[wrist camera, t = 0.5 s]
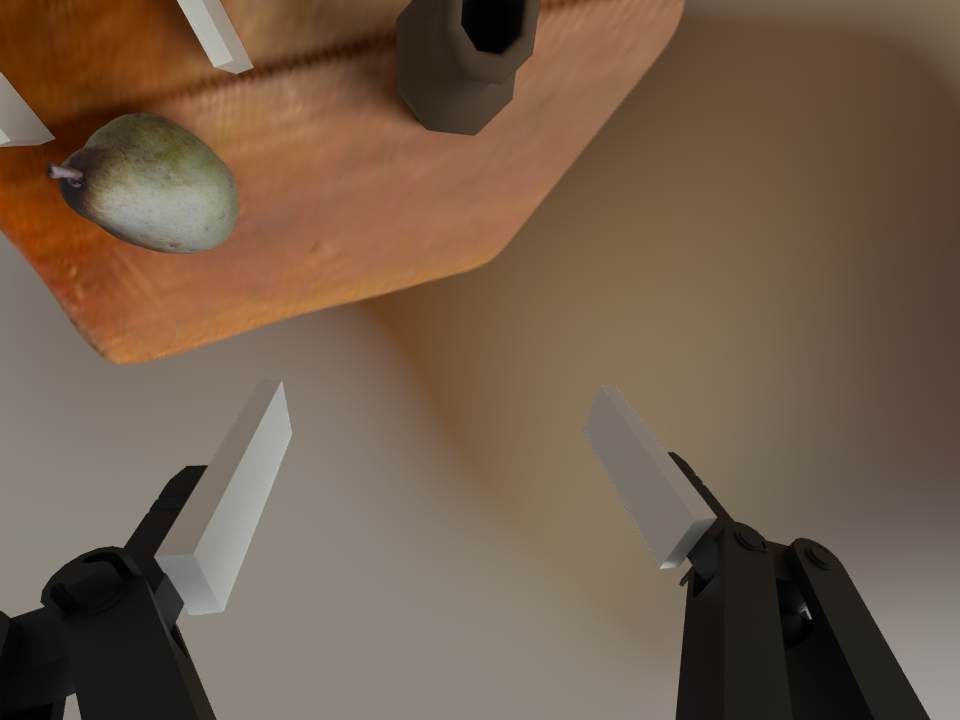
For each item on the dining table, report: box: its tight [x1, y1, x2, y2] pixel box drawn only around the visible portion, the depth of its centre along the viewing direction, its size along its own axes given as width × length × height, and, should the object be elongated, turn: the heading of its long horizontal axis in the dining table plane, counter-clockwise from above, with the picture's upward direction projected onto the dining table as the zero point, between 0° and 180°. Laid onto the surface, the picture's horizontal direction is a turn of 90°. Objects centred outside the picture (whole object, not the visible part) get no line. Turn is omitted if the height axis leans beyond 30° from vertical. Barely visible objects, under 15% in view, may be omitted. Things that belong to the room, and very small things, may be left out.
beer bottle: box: [396, 0, 540, 136], centre depth 22 cm, size 8×8×24 cm
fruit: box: [47, 113, 239, 254], centre depth 28 cm, size 10×9×12 cm
